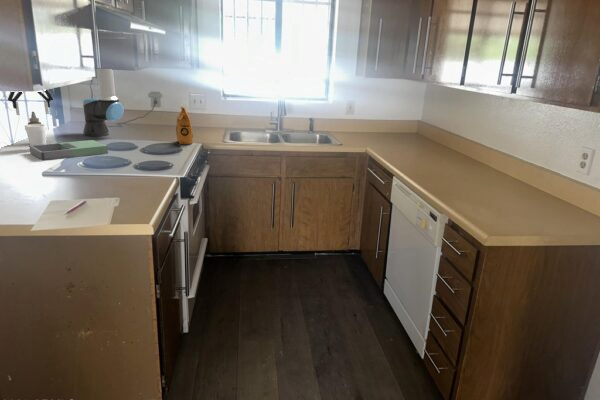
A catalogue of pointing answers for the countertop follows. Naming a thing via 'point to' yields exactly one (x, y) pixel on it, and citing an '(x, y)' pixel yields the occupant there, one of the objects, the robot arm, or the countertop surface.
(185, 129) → the coffee package
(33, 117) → the squeeze bottle
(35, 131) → the foam cup
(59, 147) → the grey green tray
